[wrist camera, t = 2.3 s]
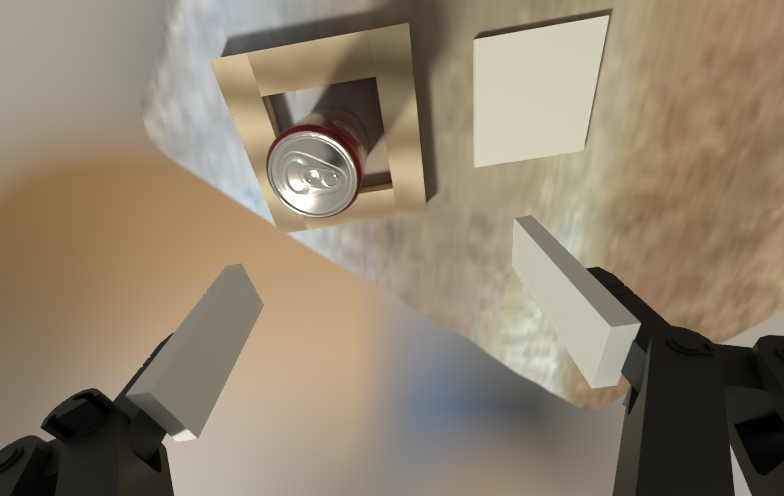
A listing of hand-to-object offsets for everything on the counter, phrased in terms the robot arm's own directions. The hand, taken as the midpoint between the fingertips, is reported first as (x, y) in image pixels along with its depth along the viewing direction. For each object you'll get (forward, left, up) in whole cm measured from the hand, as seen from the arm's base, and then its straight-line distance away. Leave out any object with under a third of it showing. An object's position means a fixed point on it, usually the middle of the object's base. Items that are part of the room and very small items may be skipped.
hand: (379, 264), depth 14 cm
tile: (-3, +16, -22) cm, 27 cm away
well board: (-2, -5, -22) cm, 22 cm away
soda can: (-2, -5, -22) cm, 23 cm away
